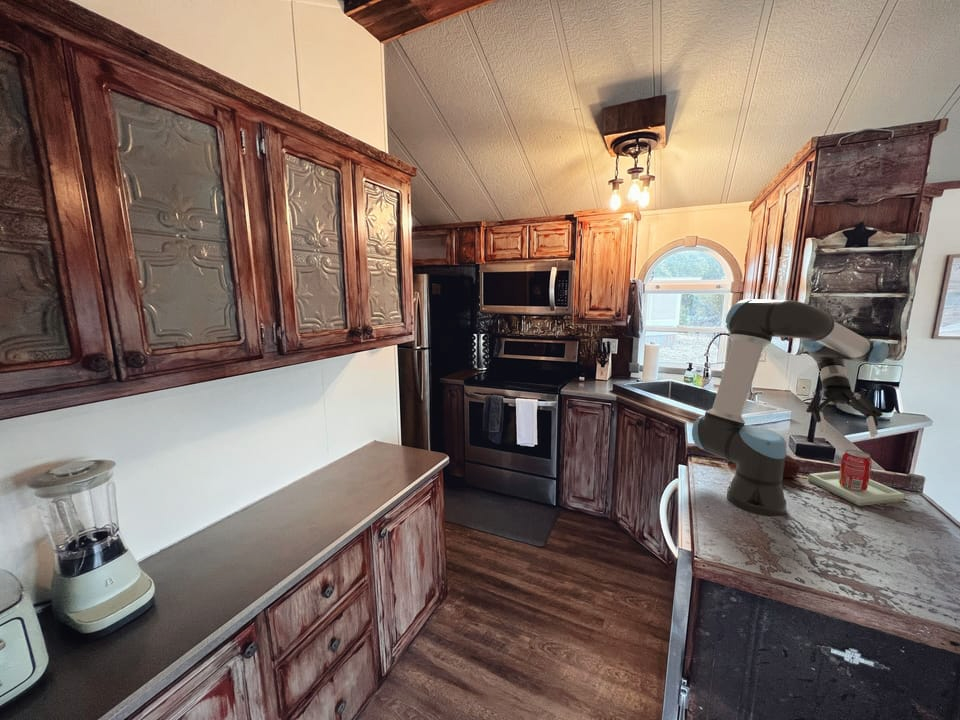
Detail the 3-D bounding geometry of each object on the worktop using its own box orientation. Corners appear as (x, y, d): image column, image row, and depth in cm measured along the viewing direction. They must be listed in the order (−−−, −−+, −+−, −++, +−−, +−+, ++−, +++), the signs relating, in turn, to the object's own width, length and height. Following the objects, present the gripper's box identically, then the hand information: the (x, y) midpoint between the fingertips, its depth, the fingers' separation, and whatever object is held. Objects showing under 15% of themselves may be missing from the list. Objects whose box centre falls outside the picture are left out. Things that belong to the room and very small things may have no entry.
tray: (858, 505, 116) (860, 498, 116) (807, 480, 132) (808, 473, 132) (902, 501, 118) (904, 493, 118) (847, 476, 134) (848, 470, 134)
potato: (806, 482, 131) (809, 459, 130) (777, 484, 130) (780, 462, 128) (777, 467, 142) (779, 446, 141) (750, 469, 141) (752, 448, 139)
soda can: (854, 482, 128) (860, 449, 126) (873, 493, 121) (880, 458, 119) (831, 481, 129) (837, 448, 127) (849, 492, 122) (855, 457, 120)
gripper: (873, 388, 139) (890, 441, 128) (789, 383, 149) (799, 432, 138) (884, 377, 133) (903, 432, 123) (796, 372, 143) (807, 423, 132)
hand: (848, 432), depth 130 cm, fingers open, 13 cm apart
